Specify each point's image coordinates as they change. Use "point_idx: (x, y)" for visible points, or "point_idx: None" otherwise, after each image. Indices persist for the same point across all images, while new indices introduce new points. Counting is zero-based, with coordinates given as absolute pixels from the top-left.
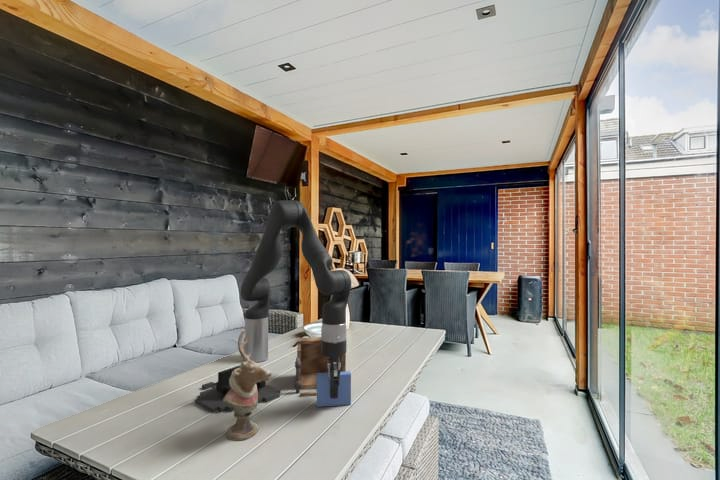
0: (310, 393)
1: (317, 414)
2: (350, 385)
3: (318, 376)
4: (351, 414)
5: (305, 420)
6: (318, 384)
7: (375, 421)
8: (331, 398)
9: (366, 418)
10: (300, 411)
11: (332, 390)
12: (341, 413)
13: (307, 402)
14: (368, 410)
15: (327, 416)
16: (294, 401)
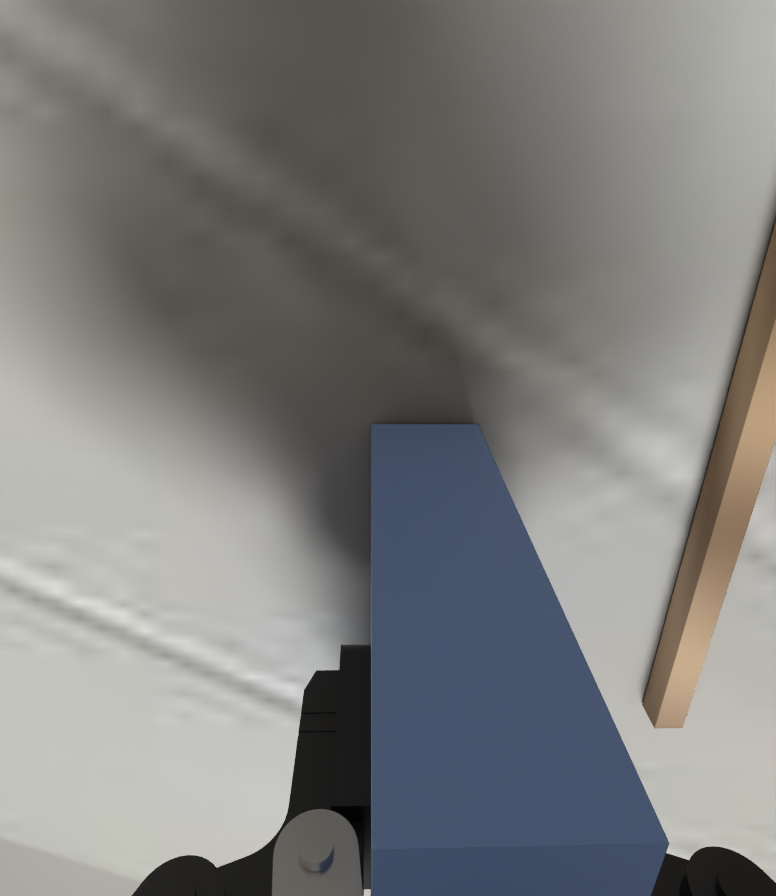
0: (760, 359)
1: (184, 421)
2: None
3: (372, 862)
4: (177, 721)
5: (17, 265)
6: (372, 657)
7: (56, 849)
8: (343, 648)
9: (104, 807)
10: (282, 192)
11: (294, 769)
12: (201, 650)
13: (546, 302)
14: (247, 831)
15: (134, 524)
16: (642, 86)
